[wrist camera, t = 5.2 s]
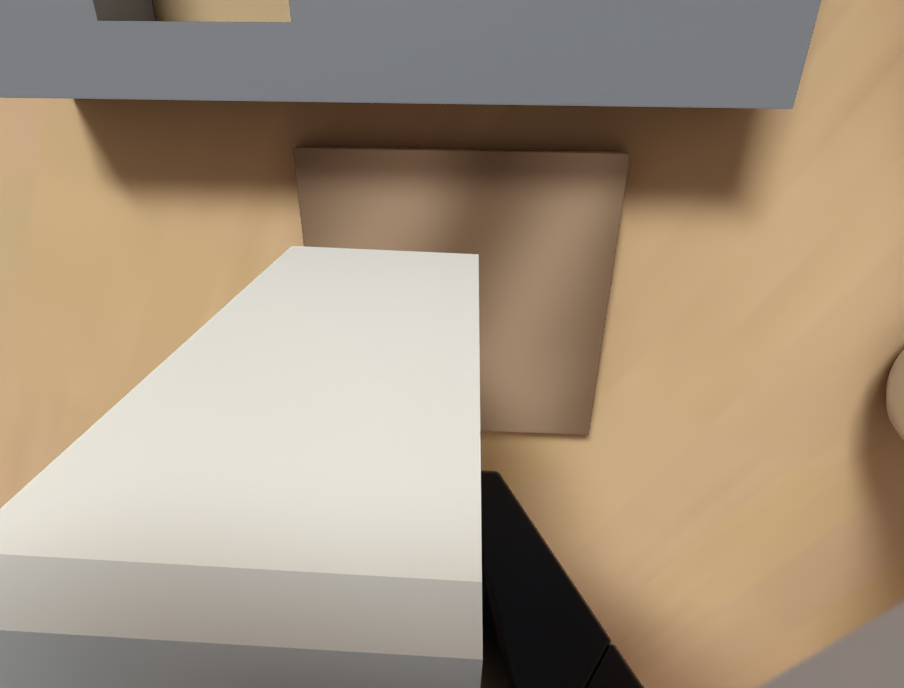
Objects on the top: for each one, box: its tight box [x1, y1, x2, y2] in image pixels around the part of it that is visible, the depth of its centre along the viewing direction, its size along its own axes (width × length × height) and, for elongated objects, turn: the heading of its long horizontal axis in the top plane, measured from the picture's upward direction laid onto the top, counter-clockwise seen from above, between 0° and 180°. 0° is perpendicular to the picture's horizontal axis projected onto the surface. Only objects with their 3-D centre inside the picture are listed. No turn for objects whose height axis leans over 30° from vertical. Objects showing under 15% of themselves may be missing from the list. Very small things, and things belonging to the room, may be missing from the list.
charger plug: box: [0, 246, 483, 688], centre depth 9 cm, size 4×5×9 cm
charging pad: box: [293, 146, 630, 435], centre depth 20 cm, size 11×11×1 cm
